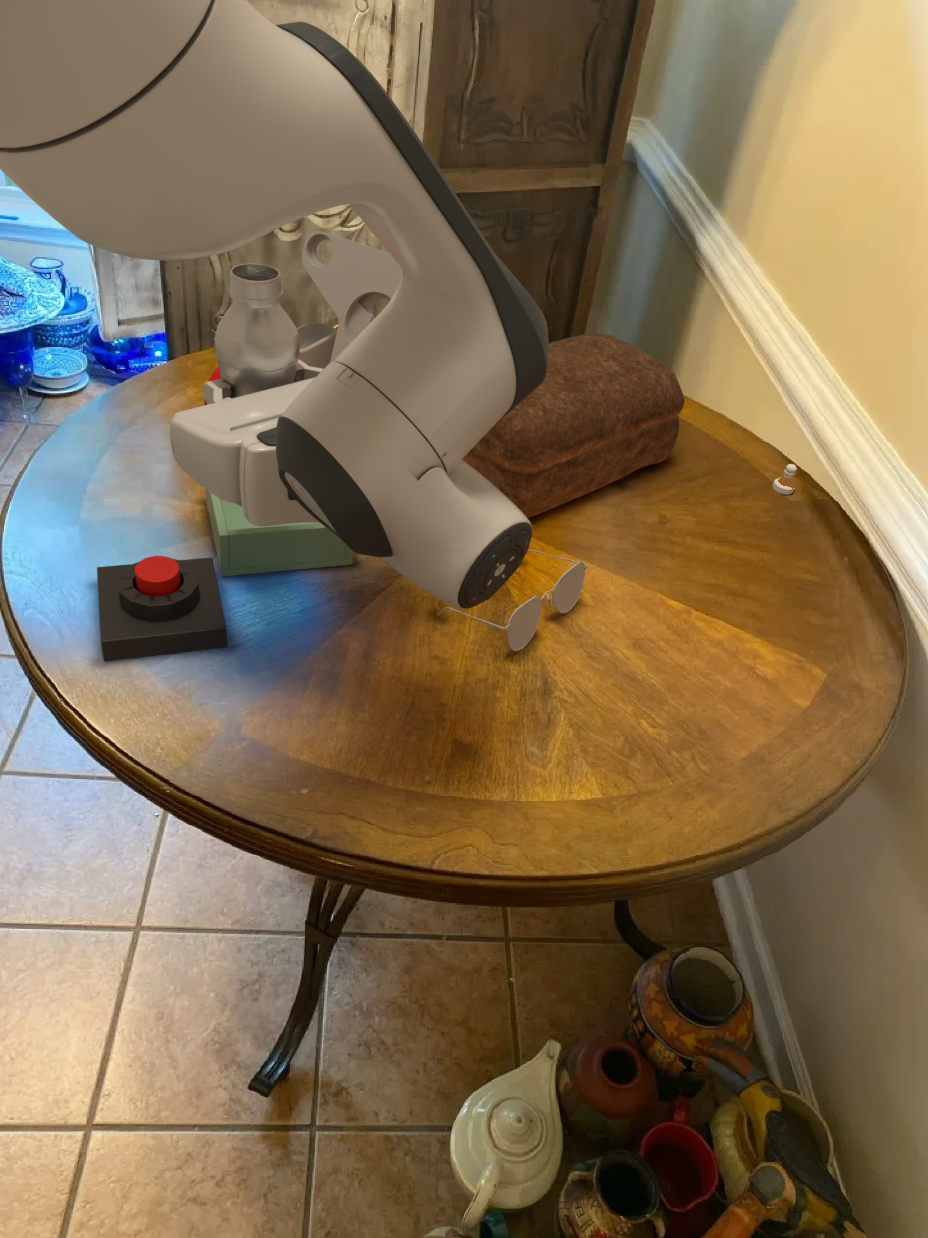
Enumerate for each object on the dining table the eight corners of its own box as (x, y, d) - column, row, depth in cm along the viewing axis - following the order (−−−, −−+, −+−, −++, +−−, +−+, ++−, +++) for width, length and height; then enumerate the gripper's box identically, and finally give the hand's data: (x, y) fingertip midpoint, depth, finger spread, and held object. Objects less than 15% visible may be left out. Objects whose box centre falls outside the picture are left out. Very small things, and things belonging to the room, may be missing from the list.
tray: (221, 576, 86) (219, 535, 83) (206, 501, 95) (203, 461, 92) (352, 564, 90) (355, 525, 87) (326, 493, 99) (327, 455, 96)
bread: (679, 462, 115) (711, 364, 106) (504, 536, 97) (526, 426, 89) (581, 402, 123) (604, 307, 115) (404, 461, 106) (416, 354, 97)
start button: (137, 599, 77) (135, 583, 76) (135, 573, 79) (133, 557, 78) (182, 595, 78) (181, 579, 77) (178, 569, 80) (177, 553, 79)
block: (103, 661, 76) (97, 625, 73) (99, 585, 83) (94, 550, 80) (227, 647, 79) (225, 612, 76) (213, 575, 86) (211, 541, 83)
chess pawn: (770, 490, 112) (780, 466, 110) (773, 481, 114) (783, 456, 112) (791, 497, 112) (802, 472, 109) (793, 487, 114) (804, 463, 111)
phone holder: (263, 390, 114) (262, 243, 102) (311, 363, 121) (314, 223, 110) (382, 437, 109) (395, 289, 98) (424, 406, 116) (440, 264, 105)
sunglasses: (504, 663, 82) (506, 618, 79) (432, 629, 86) (431, 585, 84) (586, 597, 91) (590, 554, 88) (517, 569, 95) (519, 527, 93)
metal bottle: (212, 483, 82) (199, 257, 69) (287, 474, 84) (287, 254, 71) (230, 524, 77) (219, 291, 64) (308, 512, 80) (312, 287, 67)
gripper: (463, 387, 71) (356, 319, 78) (230, 455, 59) (129, 368, 66) (454, 457, 75) (353, 386, 82) (234, 534, 63) (138, 444, 71)
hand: (251, 378), depth 74 cm, fingers closed on metal bottle, 6 cm apart
